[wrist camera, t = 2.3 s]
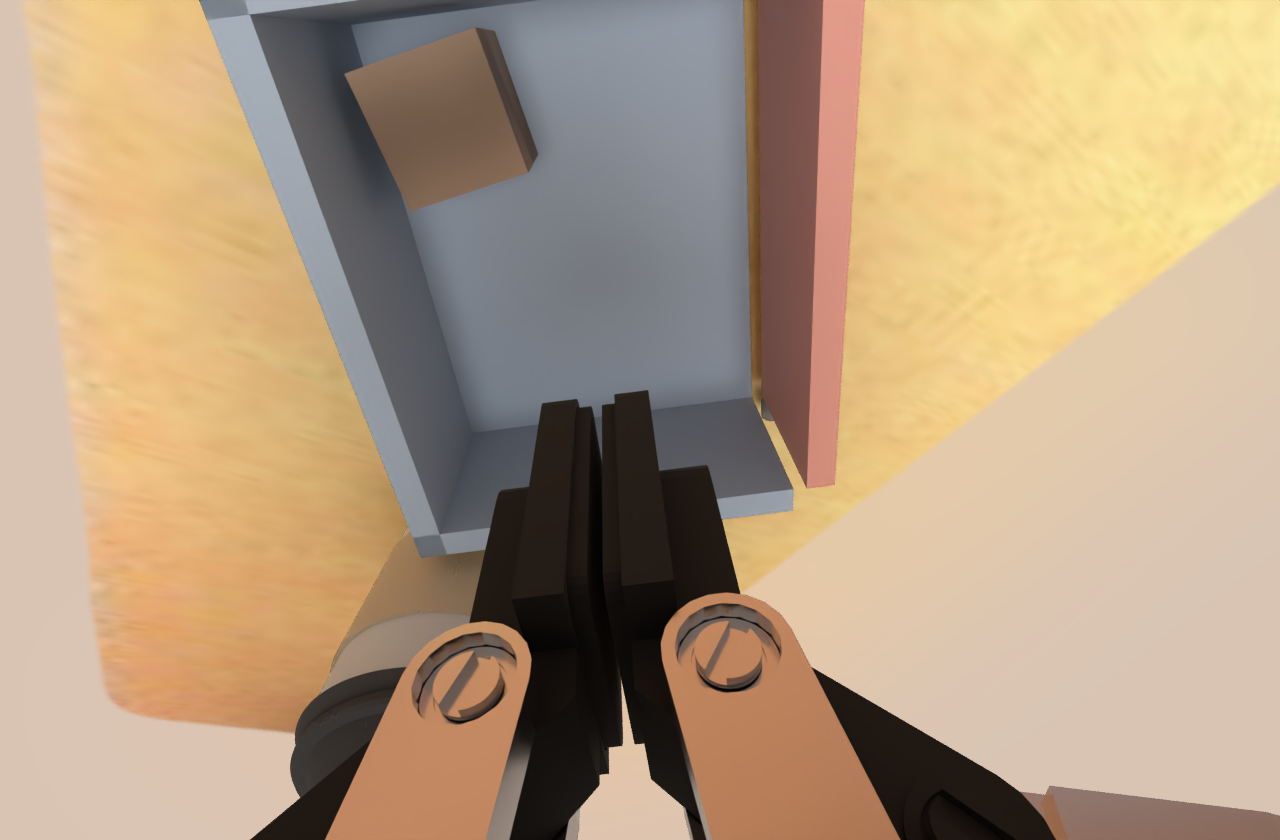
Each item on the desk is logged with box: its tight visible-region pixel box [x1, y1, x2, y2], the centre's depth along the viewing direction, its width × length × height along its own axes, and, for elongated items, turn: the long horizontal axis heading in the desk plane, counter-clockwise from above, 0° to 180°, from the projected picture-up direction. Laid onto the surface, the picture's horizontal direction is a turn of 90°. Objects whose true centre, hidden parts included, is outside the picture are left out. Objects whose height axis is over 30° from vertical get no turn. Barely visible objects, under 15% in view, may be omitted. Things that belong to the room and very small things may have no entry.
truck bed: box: [199, 0, 793, 558], centre depth 22 cm, size 18×15×8 cm
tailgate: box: [757, 0, 865, 488], centre depth 21 cm, size 16×1×7 cm, turn 6°
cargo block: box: [345, 27, 538, 212], centre depth 20 cm, size 4×4×4 cm
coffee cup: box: [290, 527, 485, 798], centre depth 26 cm, size 9×9×15 cm
